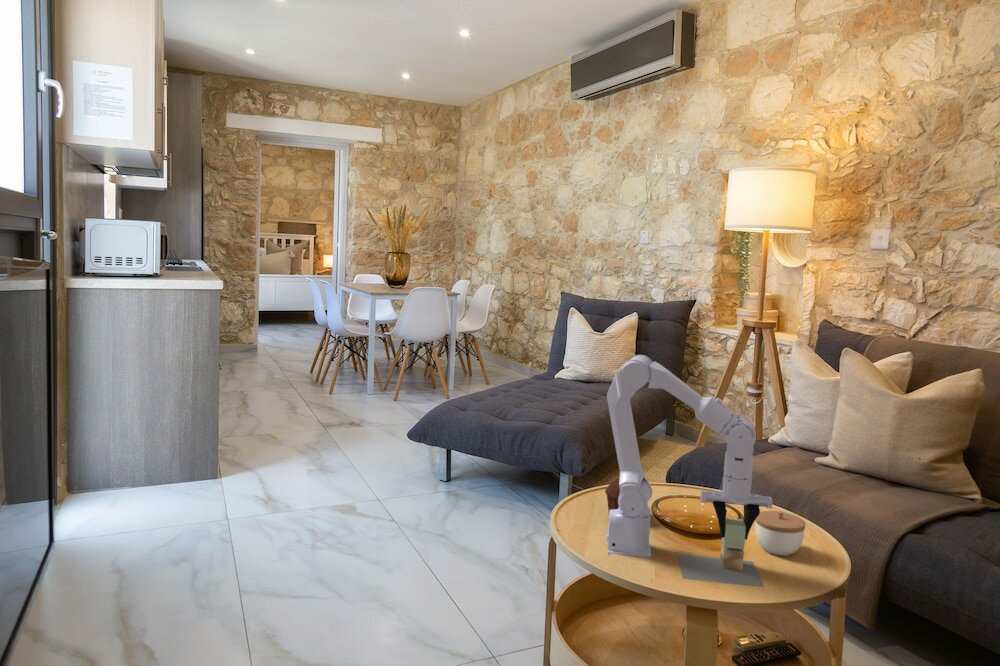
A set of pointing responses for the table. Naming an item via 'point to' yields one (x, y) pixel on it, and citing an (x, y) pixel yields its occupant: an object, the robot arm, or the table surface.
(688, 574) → the slate mat
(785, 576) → the table surface
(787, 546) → the lidded jar
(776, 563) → the table surface
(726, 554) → the beech cube
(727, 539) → the green block
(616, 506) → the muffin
